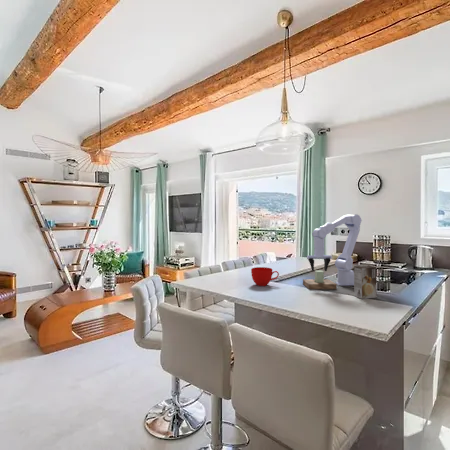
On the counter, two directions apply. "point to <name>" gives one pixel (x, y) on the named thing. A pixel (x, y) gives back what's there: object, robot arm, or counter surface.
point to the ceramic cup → (262, 275)
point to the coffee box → (365, 282)
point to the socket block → (319, 284)
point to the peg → (319, 276)
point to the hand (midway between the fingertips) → (319, 270)
